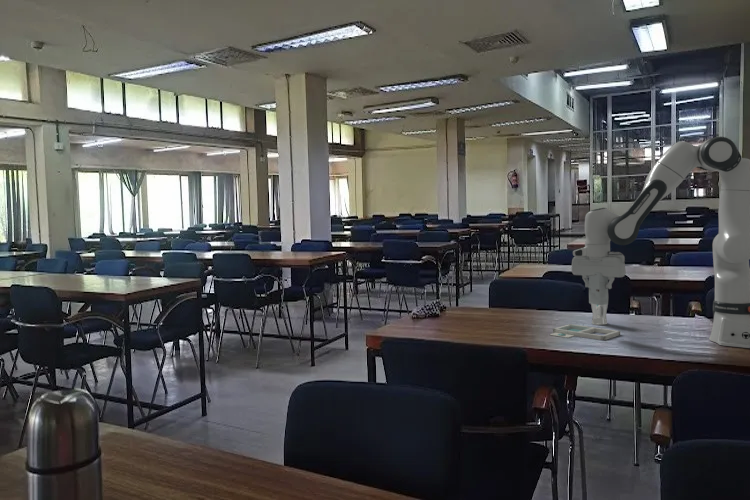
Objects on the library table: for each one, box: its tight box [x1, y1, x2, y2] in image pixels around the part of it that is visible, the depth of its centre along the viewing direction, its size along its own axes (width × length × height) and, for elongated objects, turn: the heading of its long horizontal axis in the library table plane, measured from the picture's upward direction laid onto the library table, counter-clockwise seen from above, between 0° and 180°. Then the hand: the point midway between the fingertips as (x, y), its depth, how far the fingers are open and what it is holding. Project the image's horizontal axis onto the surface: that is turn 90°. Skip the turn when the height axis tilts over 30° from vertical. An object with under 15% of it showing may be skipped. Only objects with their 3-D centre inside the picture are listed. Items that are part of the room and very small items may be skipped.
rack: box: [549, 323, 621, 341], centre depth 227 cm, size 21×17×2 cm
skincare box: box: [588, 273, 609, 305], centre depth 223 cm, size 6×4×12 cm
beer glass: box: [590, 303, 609, 326], centre depth 246 cm, size 7×7×15 cm
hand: (598, 287), depth 223 cm, fingers closed on skincare box, 7 cm apart
